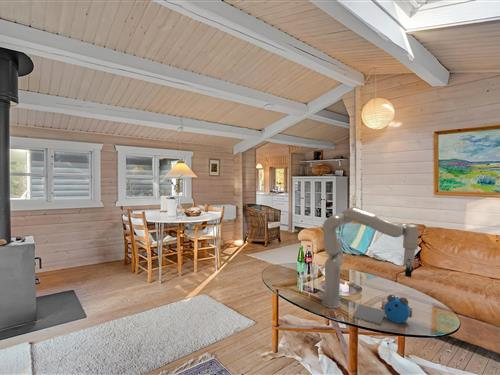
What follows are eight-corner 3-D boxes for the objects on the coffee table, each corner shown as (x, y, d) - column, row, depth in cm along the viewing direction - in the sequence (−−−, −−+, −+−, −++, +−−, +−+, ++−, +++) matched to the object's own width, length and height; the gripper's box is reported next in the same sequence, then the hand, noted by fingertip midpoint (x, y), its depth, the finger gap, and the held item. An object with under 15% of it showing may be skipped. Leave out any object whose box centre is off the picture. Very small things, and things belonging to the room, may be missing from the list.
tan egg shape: (380, 308, 193) (381, 301, 192) (382, 305, 197) (382, 298, 197) (389, 310, 190) (389, 303, 190) (390, 307, 194) (390, 300, 194)
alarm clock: (409, 322, 175) (410, 297, 175) (408, 326, 170) (409, 301, 169) (385, 315, 183) (386, 292, 182) (383, 319, 178) (384, 295, 177)
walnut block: (404, 315, 184) (404, 309, 184) (404, 312, 188) (405, 306, 187) (411, 317, 182) (411, 310, 182) (411, 314, 185) (412, 308, 185)
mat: (352, 317, 180) (352, 316, 179) (359, 305, 196) (359, 304, 196) (380, 325, 171) (380, 324, 171) (386, 312, 188) (386, 310, 188)
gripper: (404, 241, 183) (403, 269, 184) (401, 247, 169) (400, 277, 170) (418, 243, 179) (417, 271, 180) (416, 249, 165) (415, 280, 166)
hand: (408, 274), depth 175 cm, fingers open, 9 cm apart
